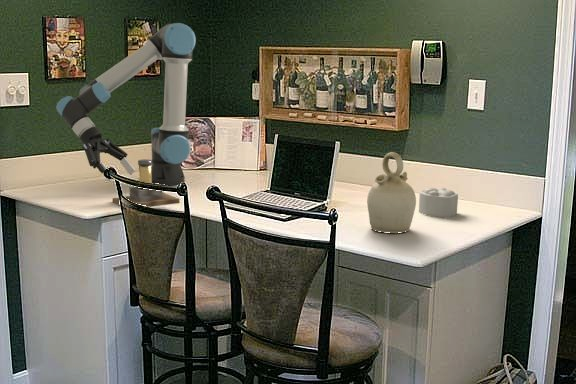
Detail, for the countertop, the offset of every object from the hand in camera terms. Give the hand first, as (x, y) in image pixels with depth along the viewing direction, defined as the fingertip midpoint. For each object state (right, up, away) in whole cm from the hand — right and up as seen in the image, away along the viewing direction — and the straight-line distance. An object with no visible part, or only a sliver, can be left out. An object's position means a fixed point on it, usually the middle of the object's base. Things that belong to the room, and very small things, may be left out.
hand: (122, 175), depth 274 cm
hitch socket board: (+9, -10, -2) cm, 14 cm away
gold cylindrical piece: (+9, -8, -2) cm, 13 cm away
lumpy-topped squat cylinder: (+114, -14, -12) cm, 115 cm away
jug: (+94, -18, -36) cm, 102 cm away
